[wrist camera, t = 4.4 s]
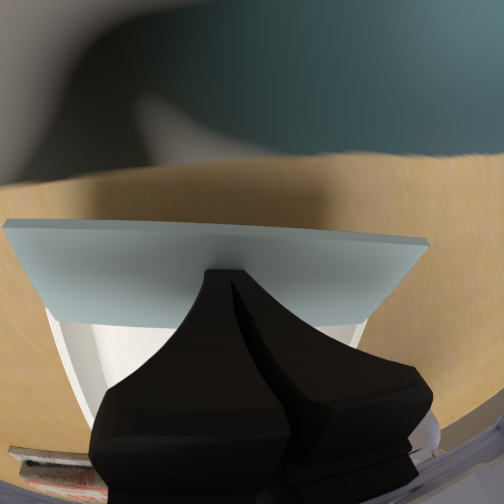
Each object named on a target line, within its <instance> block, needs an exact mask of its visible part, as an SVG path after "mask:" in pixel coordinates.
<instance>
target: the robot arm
mask: <svg viewBox="0 0 504 504" xmlns="http://www.w3.org/2000/svg"><path fill="white" fill-rule="evenodd" d="M432 402H433V392H432V390H431V389H430V388H429V386H428V385H427V383H426V382H425V381H424V379H423V378H422V376H421V375H420V374H419V372H418V371H417V370H416V368H415V367H412V366H408V365H404V364H400V363H397V362H393V361H389V360H386V359H382V358H379V357H376V356H374V355H371V354H368V353H365V352H363V351H360V350H358V349H355V348H353V347H351V346H348V345H346V344H344V343H342V342H340V341H338V340H336V339H334V338H332V337H330V336H328V335H326V334H324V333H322V332H321V331H319V330H317V329H316V328H314V327H312V326H311V325H309V324H308V323H306V322H305V321H303V320H302V319H300V318H299V317H297V316H296V315H294V314H293V313H292V312H291V311H289V310H288V309H287V308H285V307H284V306H283V305H282V304H280V303H279V302H278V301H277V300H276V299H275V298H273V297H272V296H271V295H270V294H269V293H268V292H267V291H266V290H265V289H264V288H262V287H261V286H260V285H259V284H258V283H257V282H256V281H255V280H254V279H253V278H252V277H251V276H250V275H249V274H248V273H247V272H246V271H245V270H229V269H207V270H206V271H204V280H203V283H202V286H201V289H200V291H199V293H198V295H197V298H196V300H195V302H194V303H193V305H192V307H191V309H190V310H189V312H188V314H187V315H186V317H185V319H184V320H183V321H182V323H181V324H180V326H179V327H178V328H177V330H176V331H175V332H174V333H173V335H172V336H171V337H170V338H169V339H168V340H167V341H166V343H165V344H164V345H163V346H162V347H161V348H160V349H159V350H158V351H157V352H156V353H155V354H154V355H153V356H152V357H150V358H149V359H148V360H147V361H146V362H145V363H144V364H143V365H141V366H140V367H139V368H138V369H137V370H135V371H134V372H133V373H131V374H130V375H129V376H127V377H126V378H124V379H123V380H121V381H120V382H118V383H117V384H116V385H114V386H112V387H111V388H109V389H108V390H107V391H106V393H105V395H104V397H103V399H102V402H101V404H100V406H99V409H98V412H97V414H96V417H95V420H94V423H93V427H92V432H91V438H90V445H89V453H88V457H89V460H90V463H91V465H92V466H93V468H94V469H95V470H96V472H97V473H98V475H99V476H100V477H101V479H102V480H103V482H104V483H105V484H106V486H107V487H108V498H107V504H504V413H503V414H502V416H501V417H500V418H499V419H498V420H497V423H495V424H494V425H492V426H490V427H489V428H487V429H486V430H484V431H483V432H481V433H479V434H478V435H476V436H474V437H473V438H471V439H469V440H467V441H466V442H464V443H462V444H460V445H458V446H457V447H455V448H453V449H451V450H449V451H447V452H445V451H444V450H440V449H439V450H438V449H436V448H437V446H438V444H439V441H440V427H439V424H438V421H437V419H436V417H435V416H434V414H433V413H432V411H431V410H430V407H431V404H432ZM431 454H432V455H433V457H434V458H433V457H432V455H431ZM0 504H81V503H75V502H71V501H67V500H63V499H59V498H55V497H51V496H47V495H44V494H41V493H37V492H34V491H31V490H28V489H25V488H22V487H19V486H16V485H13V484H10V483H8V482H5V481H2V480H0Z"/></svg>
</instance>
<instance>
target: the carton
mask: <svg viewBox="0 0 504 504" xmlns="http://www.w3.org/2000/svg"><path fill="white" fill-rule="evenodd" d="M45 309H46V313H47V316H48V320H49V323H50V327H51V330H52V333H53V336H54V339H55V343H56V346H57V349H58V352H59V354H60V357H61V360H62V363H63V366H64V368H65V371H66V374H67V376H68V379H69V381H70V384H71V386H72V389H73V391H74V393H75V396H76V398H77V400H78V403H79V405H80V407H81V409H82V412H83V414H84V416H85V418H86V420H87V422H88V424H89V426H90V428H91V430H92V427H93V423H94V420H95V417H96V414H97V412H98V409H99V406H100V404H101V402H102V399H103V397H104V395H105V393H106V391H107V390H108V389H109V388H111V387H112V386H114V385H116V384H117V383H118V382H120V381H121V380H123V379H124V378H126V377H127V376H129V375H130V374H131V373H133V372H134V371H135V370H137V369H138V368H139V367H140V366H141V365H143V364H144V363H145V362H146V361H147V360H148V359H149V358H150V357H152V356H153V355H154V354H155V353H156V352H157V351H158V350H159V349H160V348H161V347H162V346H163V345H164V344H165V343H166V341H167V340H168V339H169V338H170V337H171V336H172V335H173V333H174V332H175V331H176V330H177V329H170V328H144V327H126V326H110V325H97V324H85V323H74V322H64V321H56V320H55V319H54V317H53V316H52V314H51V313H50V311H49V310H48V308H47V307H45ZM368 318H369V317H368ZM368 318H367V319H366V320H365V322H364V323H363V324H351V325H337V326H321V327H314V328H316V329H317V330H319V331H321V332H322V333H324V334H326V335H328V336H330V337H332V338H334V339H336V340H338V341H340V342H342V343H344V344H346V345H348V346H351V347H353V348H355V349H356V348H357V346H358V343H359V341H360V338H361V336H362V333H363V331H364V328H365V326H366V323H367V321H368Z"/></svg>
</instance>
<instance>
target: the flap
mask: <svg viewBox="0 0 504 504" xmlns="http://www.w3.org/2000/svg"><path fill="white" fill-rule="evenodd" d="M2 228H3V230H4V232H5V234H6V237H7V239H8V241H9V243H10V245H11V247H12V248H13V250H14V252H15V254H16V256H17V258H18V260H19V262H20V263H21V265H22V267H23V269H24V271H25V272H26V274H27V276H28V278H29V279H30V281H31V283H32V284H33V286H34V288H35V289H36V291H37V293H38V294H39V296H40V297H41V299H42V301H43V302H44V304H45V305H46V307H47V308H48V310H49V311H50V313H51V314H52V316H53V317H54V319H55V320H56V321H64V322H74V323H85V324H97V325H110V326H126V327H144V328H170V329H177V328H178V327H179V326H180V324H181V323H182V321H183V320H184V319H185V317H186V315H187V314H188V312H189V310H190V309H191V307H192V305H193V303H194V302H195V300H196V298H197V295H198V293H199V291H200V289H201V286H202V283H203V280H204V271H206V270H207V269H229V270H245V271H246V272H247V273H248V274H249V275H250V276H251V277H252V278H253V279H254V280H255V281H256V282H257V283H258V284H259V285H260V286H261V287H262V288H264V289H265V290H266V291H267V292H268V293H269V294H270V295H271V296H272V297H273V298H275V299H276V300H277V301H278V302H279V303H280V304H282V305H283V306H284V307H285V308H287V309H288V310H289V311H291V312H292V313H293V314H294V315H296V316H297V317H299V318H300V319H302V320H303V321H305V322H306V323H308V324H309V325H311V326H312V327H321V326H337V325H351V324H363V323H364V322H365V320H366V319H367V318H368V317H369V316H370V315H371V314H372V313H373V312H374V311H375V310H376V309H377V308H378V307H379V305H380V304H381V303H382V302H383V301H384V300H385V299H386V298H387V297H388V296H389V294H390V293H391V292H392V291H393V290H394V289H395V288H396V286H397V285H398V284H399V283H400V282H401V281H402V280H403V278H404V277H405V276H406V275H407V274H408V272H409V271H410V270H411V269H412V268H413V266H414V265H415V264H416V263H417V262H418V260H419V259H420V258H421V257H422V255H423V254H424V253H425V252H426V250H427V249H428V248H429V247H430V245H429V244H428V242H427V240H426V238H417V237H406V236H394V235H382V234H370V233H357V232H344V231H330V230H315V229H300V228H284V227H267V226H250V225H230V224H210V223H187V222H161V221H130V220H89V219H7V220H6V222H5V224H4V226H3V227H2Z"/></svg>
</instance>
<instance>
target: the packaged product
mask: <svg viewBox="0 0 504 504" xmlns="http://www.w3.org/2000/svg"><path fill="white" fill-rule="evenodd" d="M8 453H9V454H10V455H11V456H13V457H14V458H16V459H17V460H18V461H20V462H21V463H22V466H21V469H20V472H19V476H20V477H21V478H22V479H23V480H24V482H25V483H26V484H27V485H29V486H30V487H33V488H36V489H38V490H40V491H44V492H46V493H51V494H56V495H61V496H67V497H73V498H79V499H87V500H95V501H106V502H107V498H108V487H107V486H106V484H105V483H104V482H103V480H102V479H101V477H100V476H99V475H98V473H97V472H96V470H95V469H94V468H93V466H92V465H91V463H90V460H89V457H88V454H79V453H65V452H54V451H45V450H36V449H28V448H20V447H12V446H10V448H9V450H8Z"/></svg>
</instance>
